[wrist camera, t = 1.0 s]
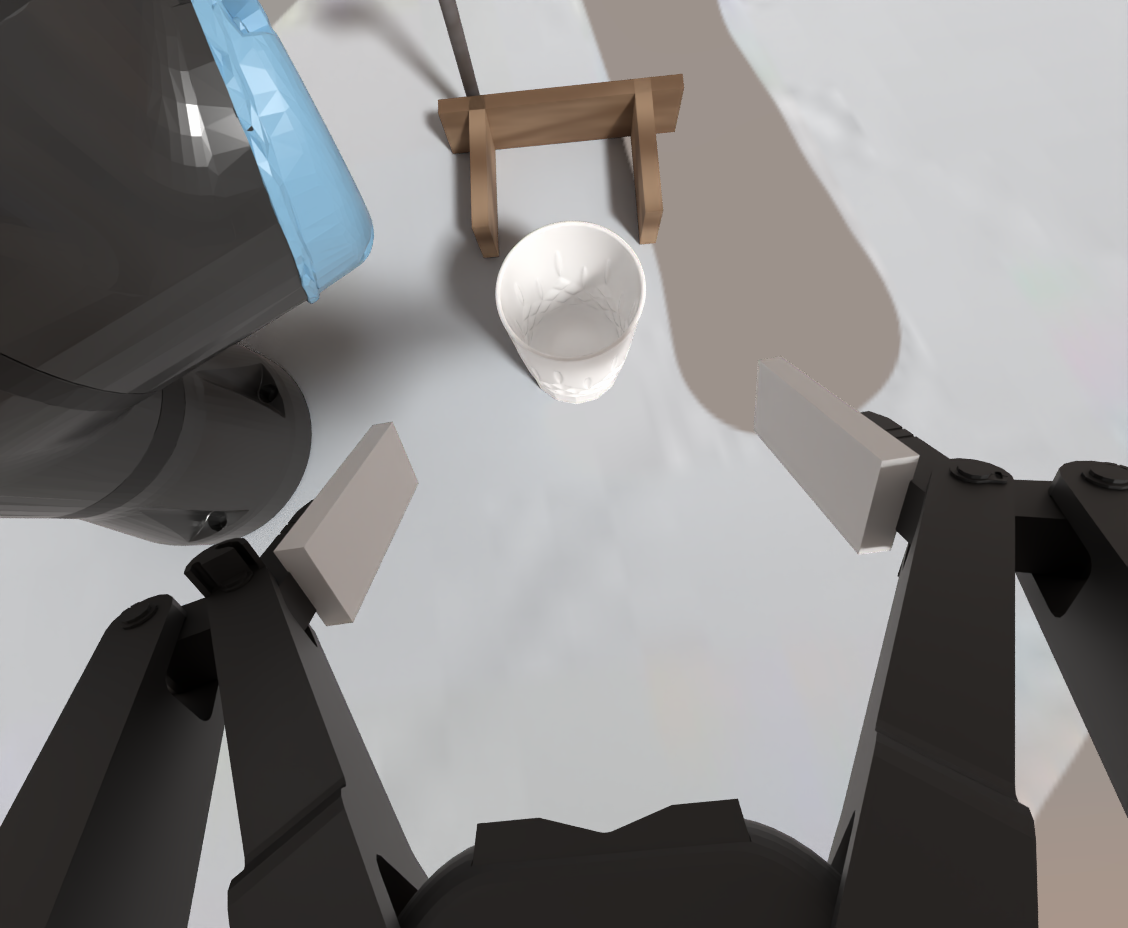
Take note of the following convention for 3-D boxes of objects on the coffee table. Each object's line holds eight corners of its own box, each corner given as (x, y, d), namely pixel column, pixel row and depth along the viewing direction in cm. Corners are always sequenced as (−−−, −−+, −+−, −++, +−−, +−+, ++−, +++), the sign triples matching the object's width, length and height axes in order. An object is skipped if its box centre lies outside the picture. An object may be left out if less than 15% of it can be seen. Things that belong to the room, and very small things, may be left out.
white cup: (513, 401, 32) (479, 346, 23) (536, 303, 33) (513, 210, 24) (617, 421, 32) (630, 373, 22) (638, 320, 33) (658, 232, 23)
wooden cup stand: (685, 240, 33) (771, -18, 18) (431, 262, 34) (296, 37, 19) (671, 105, 35) (738, -240, 19) (430, 130, 36) (305, -178, 20)
